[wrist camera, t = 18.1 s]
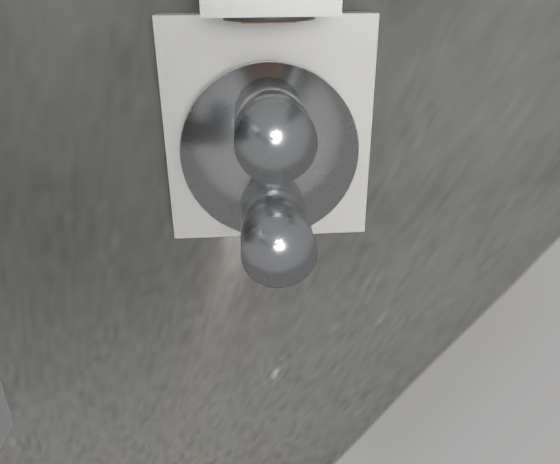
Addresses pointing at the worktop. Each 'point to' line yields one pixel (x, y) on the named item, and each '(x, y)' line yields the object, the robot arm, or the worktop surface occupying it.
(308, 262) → the grey metal knob
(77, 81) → the worktop surface
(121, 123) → the worktop surface
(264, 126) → the cylinder
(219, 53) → the scale
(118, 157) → the worktop surface
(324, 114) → the pan
